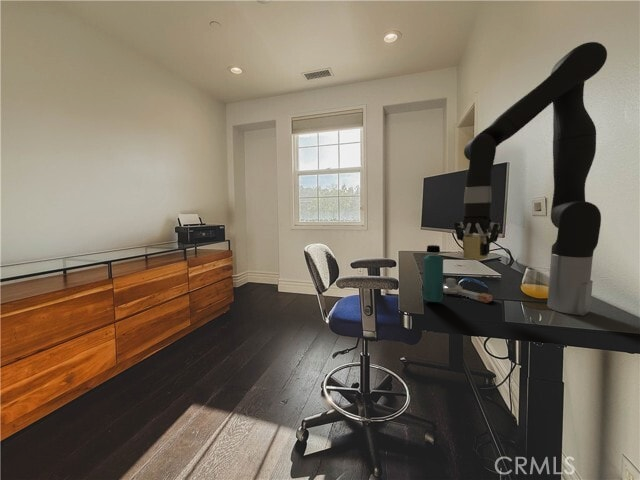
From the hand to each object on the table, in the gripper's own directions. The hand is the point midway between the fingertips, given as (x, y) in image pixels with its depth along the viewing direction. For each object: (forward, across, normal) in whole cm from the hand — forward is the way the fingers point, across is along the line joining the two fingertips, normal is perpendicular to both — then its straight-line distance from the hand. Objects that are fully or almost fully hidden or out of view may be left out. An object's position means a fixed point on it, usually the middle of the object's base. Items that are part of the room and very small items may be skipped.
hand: (475, 254), depth 88 cm
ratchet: (+17, +7, -6) cm, 20 cm away
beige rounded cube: (+1, 0, 0) cm, 1 cm away
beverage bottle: (+17, +9, +9) cm, 22 cm away
